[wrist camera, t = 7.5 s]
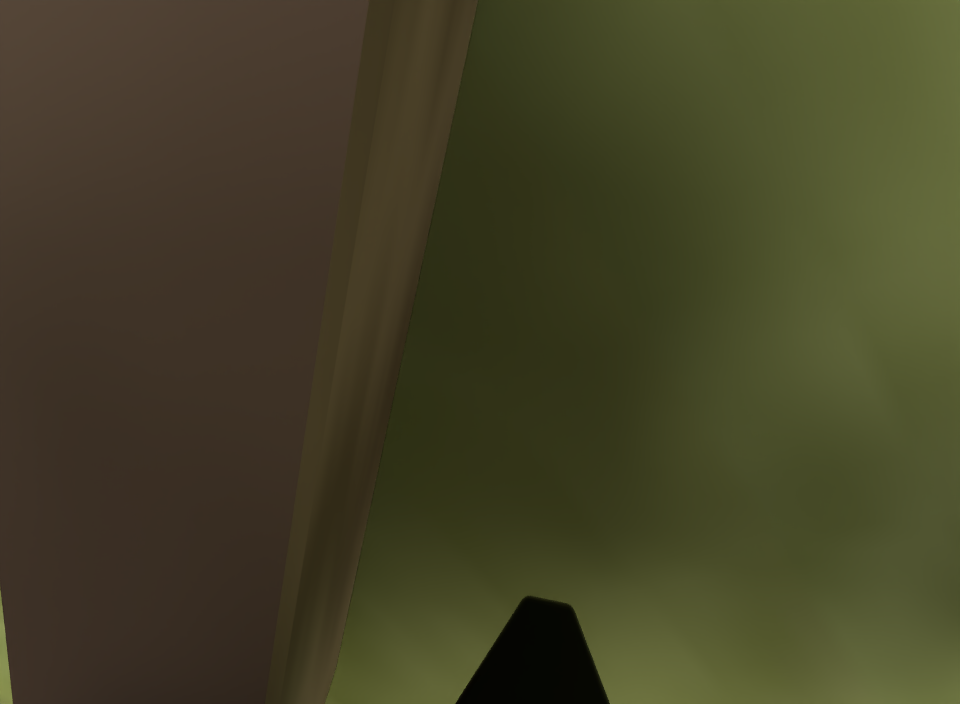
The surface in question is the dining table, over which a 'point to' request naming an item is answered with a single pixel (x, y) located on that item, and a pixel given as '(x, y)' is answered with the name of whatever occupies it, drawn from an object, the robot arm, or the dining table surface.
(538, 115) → the dining table surface
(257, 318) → the brown wooden plank
